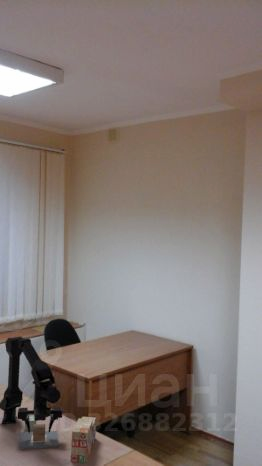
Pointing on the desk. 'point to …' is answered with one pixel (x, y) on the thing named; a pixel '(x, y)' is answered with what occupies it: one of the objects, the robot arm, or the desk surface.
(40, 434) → the walnut block
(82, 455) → the stack of blocks
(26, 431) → the sage block
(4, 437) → the desk surface
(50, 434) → the blueprint board
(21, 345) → the robot arm
